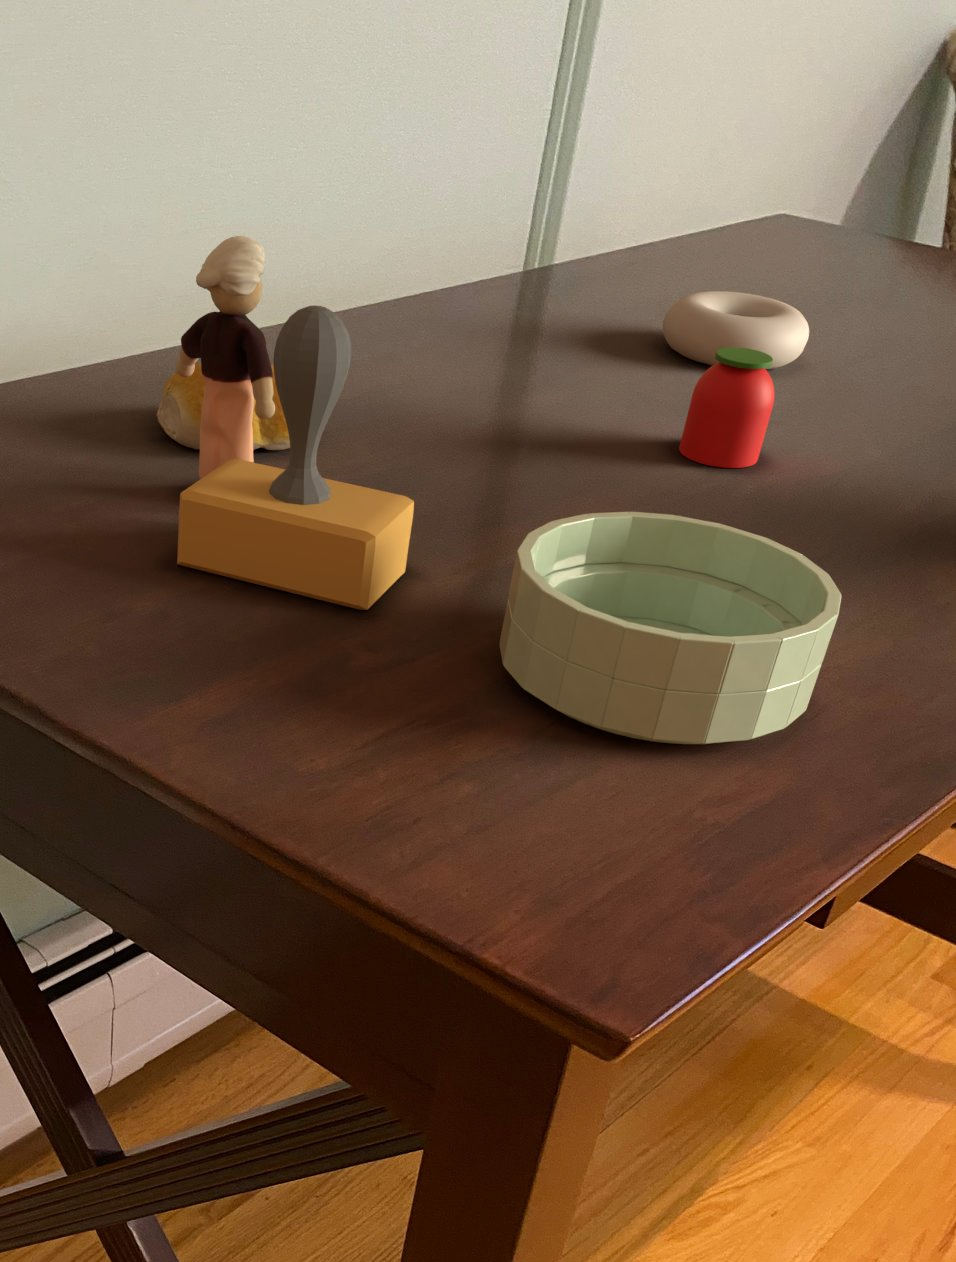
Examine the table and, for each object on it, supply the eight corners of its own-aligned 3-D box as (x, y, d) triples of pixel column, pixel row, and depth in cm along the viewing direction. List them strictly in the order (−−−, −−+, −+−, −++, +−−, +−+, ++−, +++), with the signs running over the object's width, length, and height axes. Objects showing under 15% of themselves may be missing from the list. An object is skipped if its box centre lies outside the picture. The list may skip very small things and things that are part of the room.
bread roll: (333, 450, 86) (341, 379, 84) (190, 463, 84) (193, 389, 81) (276, 404, 92) (282, 336, 90) (140, 415, 89) (142, 345, 87)
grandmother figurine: (299, 507, 79) (324, 246, 71) (253, 525, 77) (272, 258, 69) (192, 467, 83) (204, 216, 75) (145, 484, 81) (151, 226, 73)
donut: (827, 364, 106) (711, 326, 112) (844, 313, 104) (725, 277, 110) (746, 387, 101) (628, 345, 107) (761, 333, 99) (640, 294, 104)
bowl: (766, 627, 70) (798, 524, 67) (838, 768, 60) (879, 654, 57) (487, 605, 71) (506, 501, 68) (511, 741, 61) (534, 627, 57)
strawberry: (748, 445, 91) (775, 346, 87) (764, 471, 88) (794, 370, 84) (672, 439, 91) (697, 341, 88) (686, 465, 88) (711, 364, 84)
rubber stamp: (407, 571, 73) (444, 311, 66) (364, 614, 69) (398, 342, 62) (225, 527, 76) (240, 274, 69) (174, 566, 72) (184, 302, 65)
